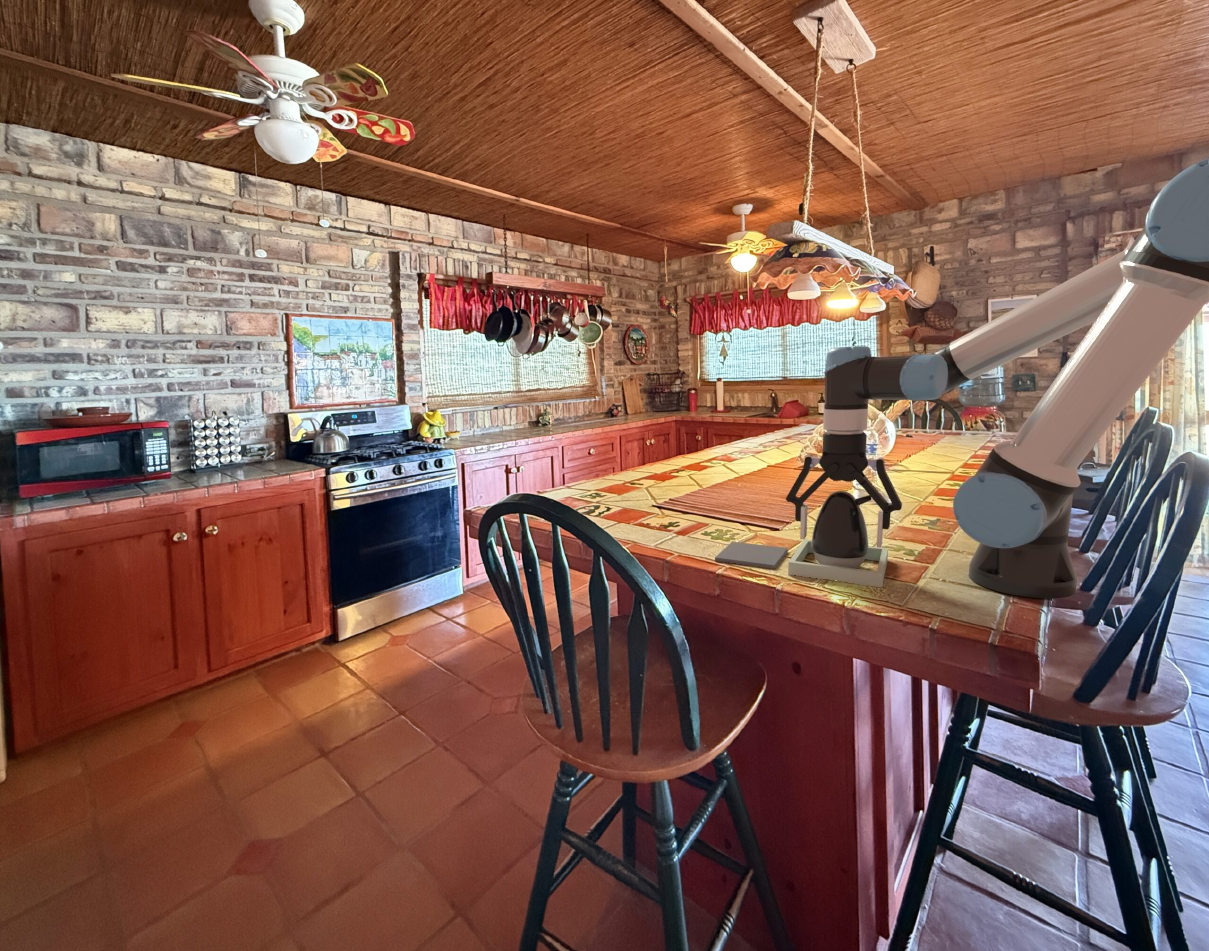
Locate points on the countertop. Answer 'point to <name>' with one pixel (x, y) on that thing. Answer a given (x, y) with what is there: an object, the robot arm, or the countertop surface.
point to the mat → (752, 555)
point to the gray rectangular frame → (836, 572)
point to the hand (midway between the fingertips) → (840, 541)
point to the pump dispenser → (841, 531)
